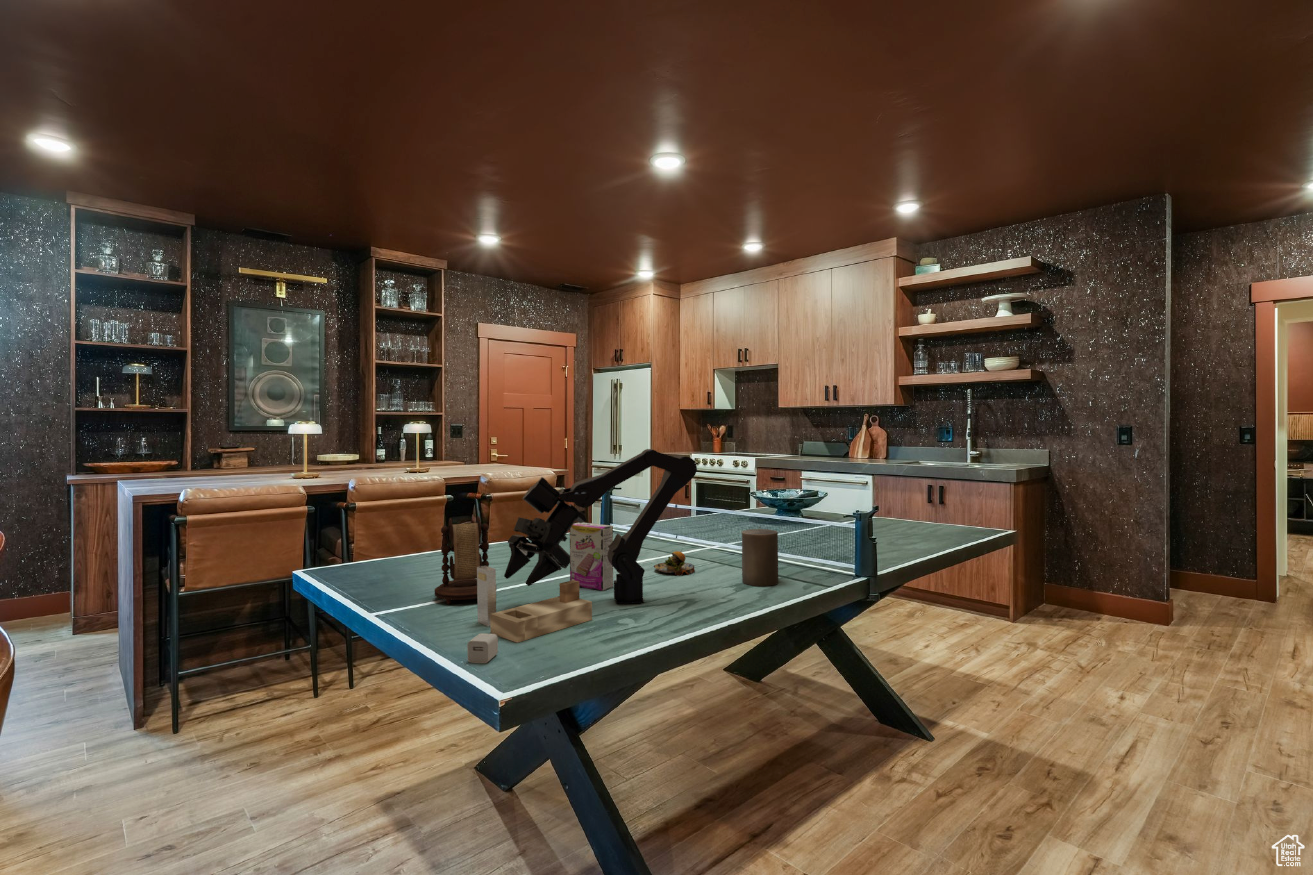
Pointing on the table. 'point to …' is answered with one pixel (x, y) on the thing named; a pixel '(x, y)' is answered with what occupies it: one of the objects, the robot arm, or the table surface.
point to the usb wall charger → (482, 648)
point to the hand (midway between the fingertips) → (516, 581)
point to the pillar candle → (760, 557)
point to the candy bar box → (591, 555)
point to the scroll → (462, 560)
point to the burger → (675, 565)
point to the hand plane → (543, 615)
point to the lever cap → (486, 593)
